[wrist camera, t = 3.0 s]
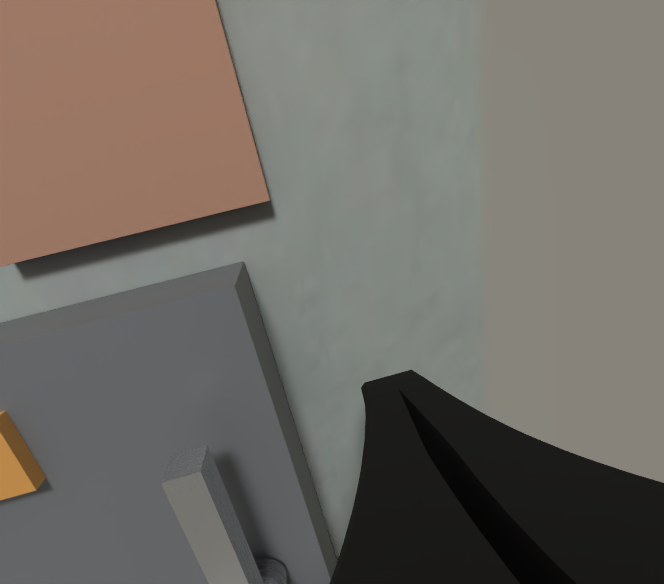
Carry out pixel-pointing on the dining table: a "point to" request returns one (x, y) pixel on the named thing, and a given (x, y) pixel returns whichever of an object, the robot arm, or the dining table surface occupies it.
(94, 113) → the mat
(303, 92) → the dining table surface
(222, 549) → the clip
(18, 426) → the power strip
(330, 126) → the dining table surface
